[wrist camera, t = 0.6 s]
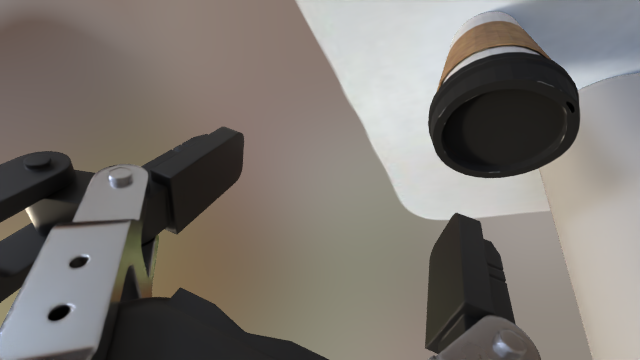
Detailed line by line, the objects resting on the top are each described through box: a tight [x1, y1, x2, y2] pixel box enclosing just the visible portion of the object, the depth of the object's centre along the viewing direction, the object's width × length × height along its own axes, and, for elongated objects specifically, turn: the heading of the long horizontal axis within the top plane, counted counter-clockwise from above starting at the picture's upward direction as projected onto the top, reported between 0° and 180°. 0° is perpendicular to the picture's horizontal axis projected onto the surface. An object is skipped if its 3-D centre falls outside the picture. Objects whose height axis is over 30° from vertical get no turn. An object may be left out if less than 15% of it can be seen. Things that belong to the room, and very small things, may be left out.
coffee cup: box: [428, 11, 580, 178], centre depth 23 cm, size 8×8×15 cm
